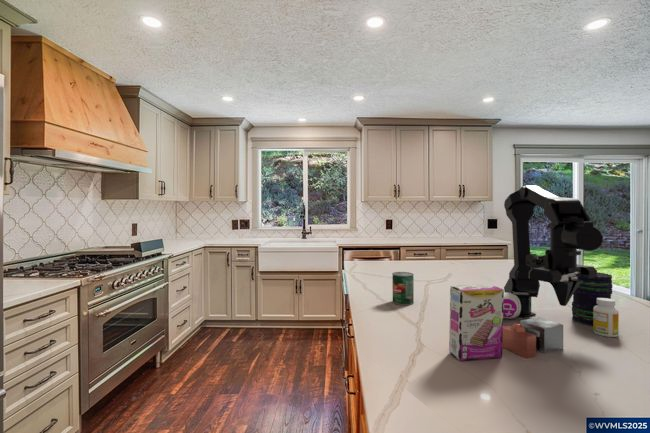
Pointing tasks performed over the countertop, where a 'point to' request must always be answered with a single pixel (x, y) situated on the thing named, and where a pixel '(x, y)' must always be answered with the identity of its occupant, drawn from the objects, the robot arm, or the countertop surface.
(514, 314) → the supplement can
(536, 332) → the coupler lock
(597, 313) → the supplement bottle
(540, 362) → the countertop surface
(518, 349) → the coupler rail
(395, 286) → the canned tomato
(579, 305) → the storage jar
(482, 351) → the candy bar box
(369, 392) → the countertop surface
